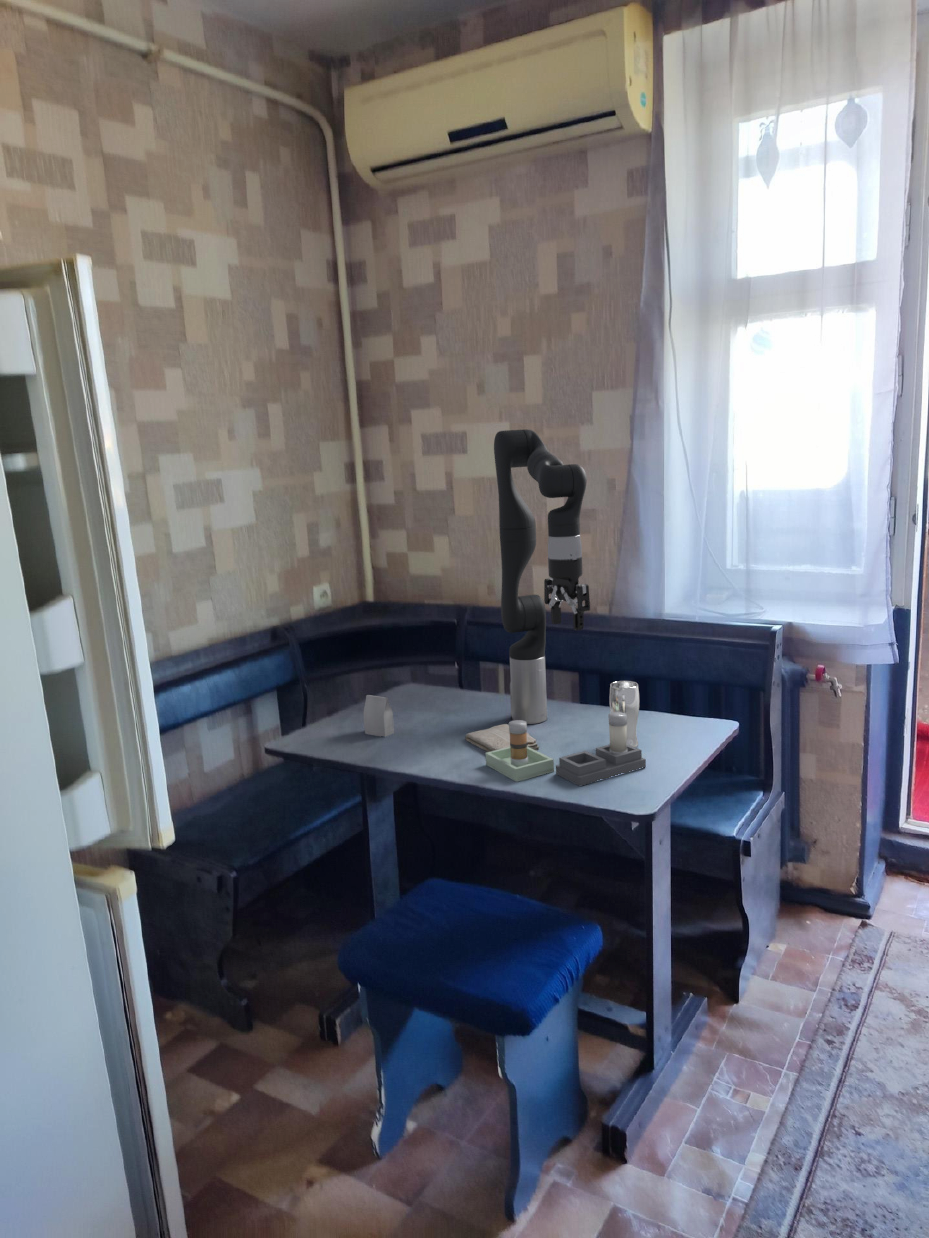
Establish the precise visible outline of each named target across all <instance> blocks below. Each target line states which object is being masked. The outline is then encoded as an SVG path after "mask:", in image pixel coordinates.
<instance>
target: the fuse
mask: <svg viewBox="0 0 929 1238" xmlns="http://www.w3.org/2000/svg"><path fill="white" fill-rule="evenodd" d="M626 724H627V714H625V713H622V712H613V713H611V712H609V713H608V730H609V735H608V736H609V744H610V749H609V752H611V753H614V754H616V755H617V754H621V753H625V752H628V751H627V726H626Z"/></svg>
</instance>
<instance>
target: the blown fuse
mask: <svg viewBox="0 0 929 1238" xmlns="http://www.w3.org/2000/svg"><path fill="white" fill-rule="evenodd" d="M508 725H509V733H510V751H511V756H510V760H511V765H513V766H515V767H520V766H524V765H528V755H527V733H528V732H527V731H528V729H527V728H528V727H527V726H528V724H527V722H526V721H523V720H514V721H513V720H510V721H509V722H508Z"/></svg>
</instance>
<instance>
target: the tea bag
mask: <svg viewBox="0 0 929 1238" xmlns="http://www.w3.org/2000/svg"><path fill="white" fill-rule="evenodd" d="M362 711H363V723H364V734H365V735H370V736H376V737H381V736H385V737H384V738H387V737H389V736H391V735H393V734H395V726H394V713H393V712H394V711H393V708H392V706H391V704H390V702H389V698H388V697H384V696H378V695H372V694H371V695H370V694H367V695H365V703H364V707H363V710H362ZM386 736H387V737H386Z"/></svg>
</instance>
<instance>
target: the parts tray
mask: <svg viewBox="0 0 929 1238" xmlns="http://www.w3.org/2000/svg"><path fill="white" fill-rule="evenodd" d="M527 755H528V765H524V766H520V767H515V766H513V765H511V760H510V756H511V751H510V747H507V748H503V749H499V750H495V751H491V752H487V751H486V752H485V765H486V766H487V767H489V768H491V769H493V770H495V771H496V772H498V773H500V774H501V775H503V776H505V777H507V778H509V779H511V780H512V781H514V782H521V781H526V780H528V779H533V778H535V777H539V776H542V775H546V773H547V774H550V773H554V772H555V763H554V762H555V760H554V759H553V758H551V757H550V756H548V755H546V754H544V753H542V752H540V751H537V750H534V749H532V748H530V747H528V746H527Z"/></svg>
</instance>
